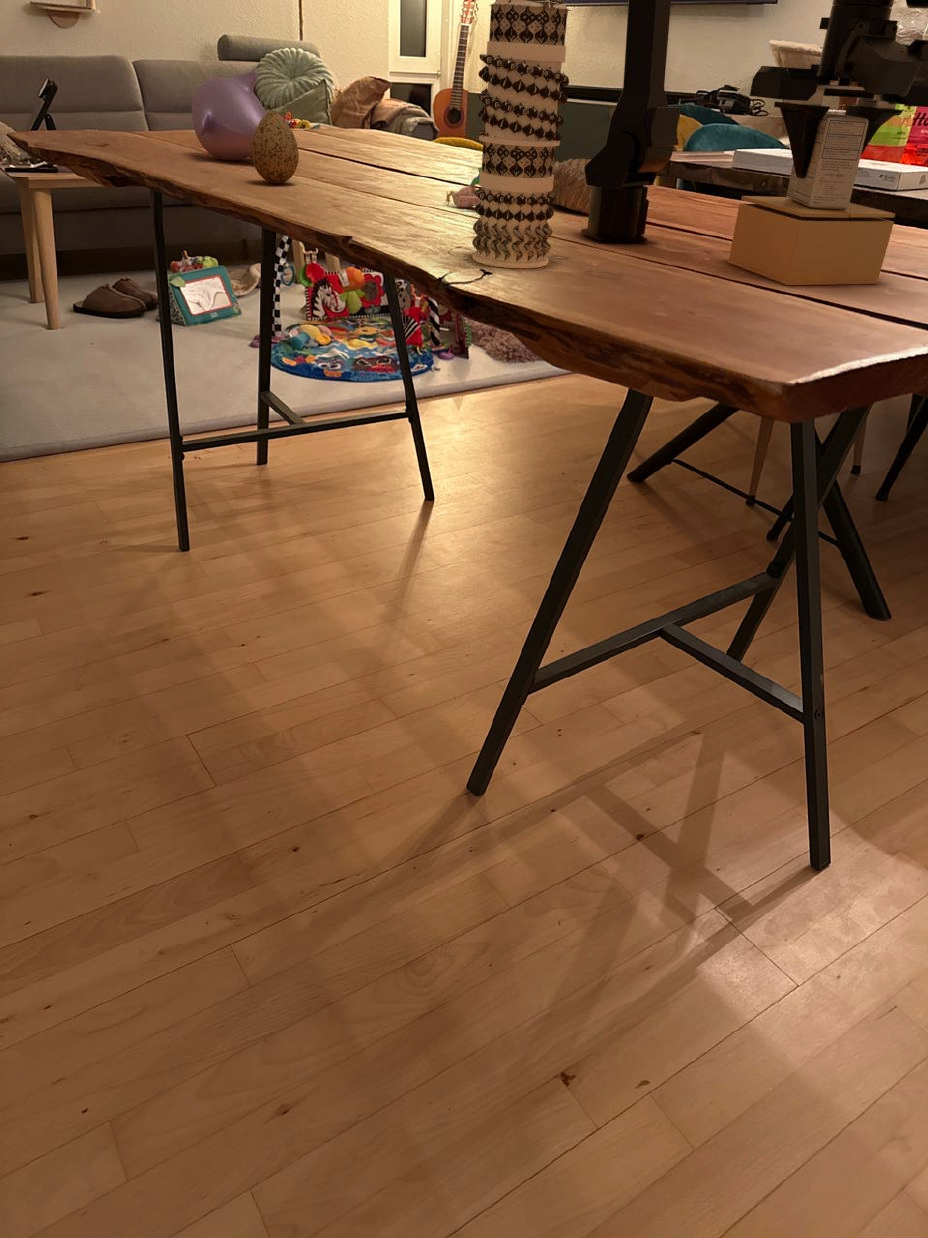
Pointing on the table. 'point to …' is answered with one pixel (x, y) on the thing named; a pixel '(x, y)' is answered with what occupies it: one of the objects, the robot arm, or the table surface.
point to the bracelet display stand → (520, 131)
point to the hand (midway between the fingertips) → (821, 178)
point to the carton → (811, 245)
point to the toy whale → (227, 115)
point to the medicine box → (831, 163)
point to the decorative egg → (274, 149)
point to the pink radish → (466, 194)
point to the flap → (794, 207)
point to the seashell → (571, 185)
